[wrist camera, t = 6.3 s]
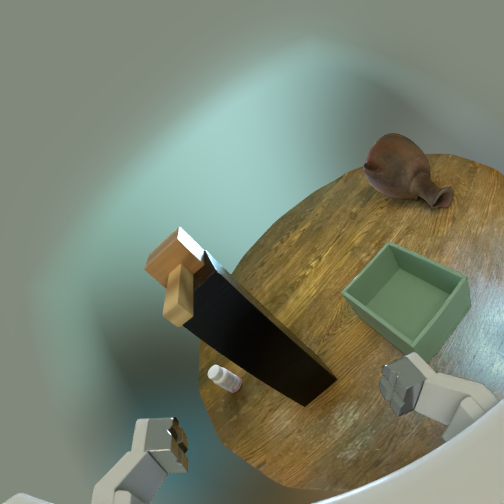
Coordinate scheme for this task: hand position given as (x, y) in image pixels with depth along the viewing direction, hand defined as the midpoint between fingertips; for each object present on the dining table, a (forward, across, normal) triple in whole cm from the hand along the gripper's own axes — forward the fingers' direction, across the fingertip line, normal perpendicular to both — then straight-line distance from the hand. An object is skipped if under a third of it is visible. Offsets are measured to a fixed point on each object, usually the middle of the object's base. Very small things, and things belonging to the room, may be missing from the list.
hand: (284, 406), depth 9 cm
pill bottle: (+48, +6, +47) cm, 67 cm away
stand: (+36, -11, +38) cm, 53 cm away
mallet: (+29, +7, +8) cm, 31 cm away
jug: (+59, -57, +8) cm, 82 cm away
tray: (+32, -34, +25) cm, 53 cm away
